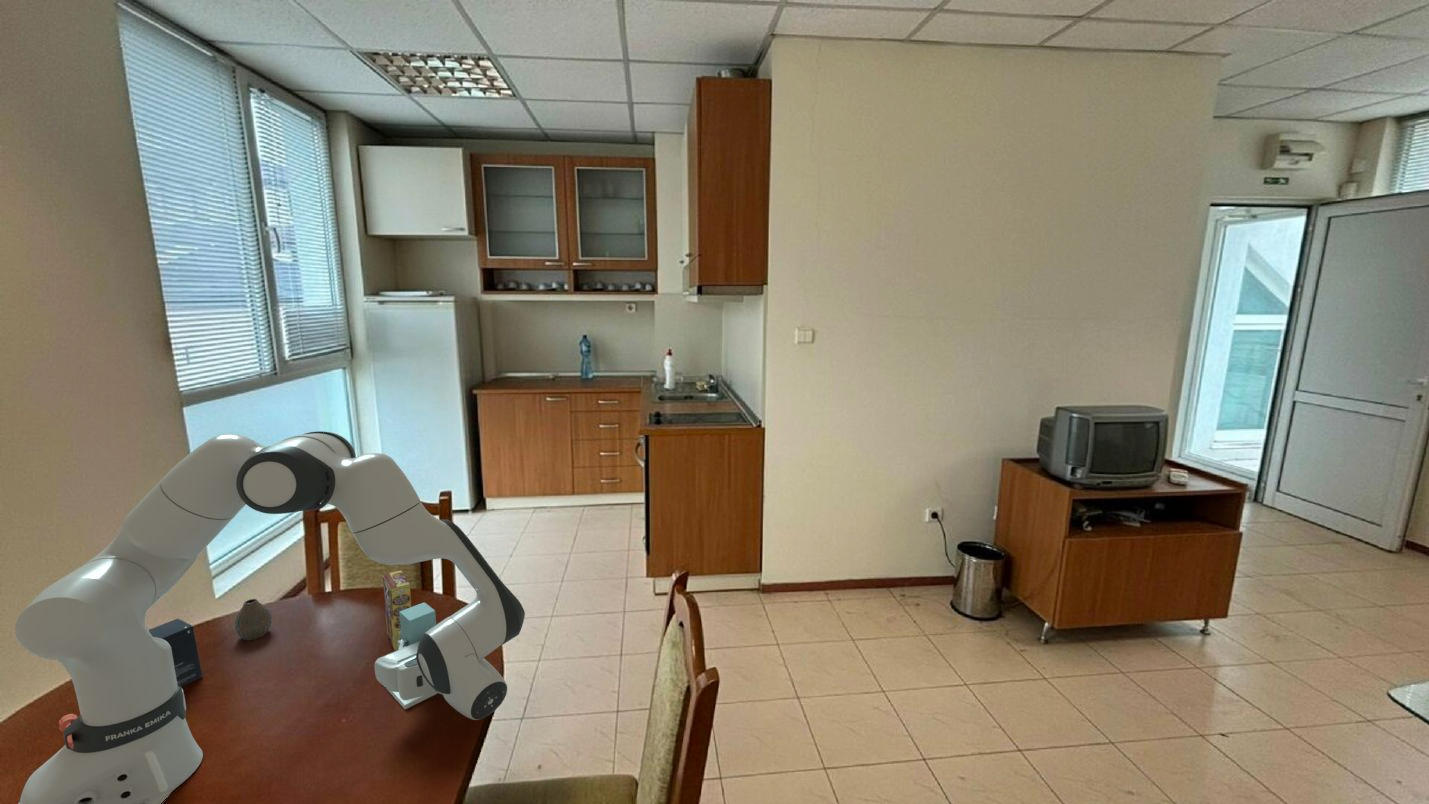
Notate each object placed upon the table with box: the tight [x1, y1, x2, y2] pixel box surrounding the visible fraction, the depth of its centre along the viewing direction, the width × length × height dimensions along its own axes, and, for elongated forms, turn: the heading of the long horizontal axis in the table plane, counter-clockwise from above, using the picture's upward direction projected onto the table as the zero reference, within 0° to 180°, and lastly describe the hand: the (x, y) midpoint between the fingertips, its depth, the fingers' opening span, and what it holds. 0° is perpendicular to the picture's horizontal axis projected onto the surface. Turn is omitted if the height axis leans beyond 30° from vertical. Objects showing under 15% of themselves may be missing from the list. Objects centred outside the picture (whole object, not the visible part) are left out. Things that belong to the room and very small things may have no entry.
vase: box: [233, 598, 273, 641], centre depth 135 cm, size 7×7×9 cm
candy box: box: [382, 570, 412, 652], centre depth 134 cm, size 9×4×15 cm, turn 39°
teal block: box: [399, 602, 437, 646], centre depth 119 cm, size 5×5×14 cm
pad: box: [385, 688, 438, 710], centre depth 121 cm, size 12×12×1 cm
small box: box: [148, 618, 204, 688], centre depth 116 cm, size 13×7×12 cm, turn 154°
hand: (417, 636), depth 120 cm, fingers closed on teal block, 5 cm apart
